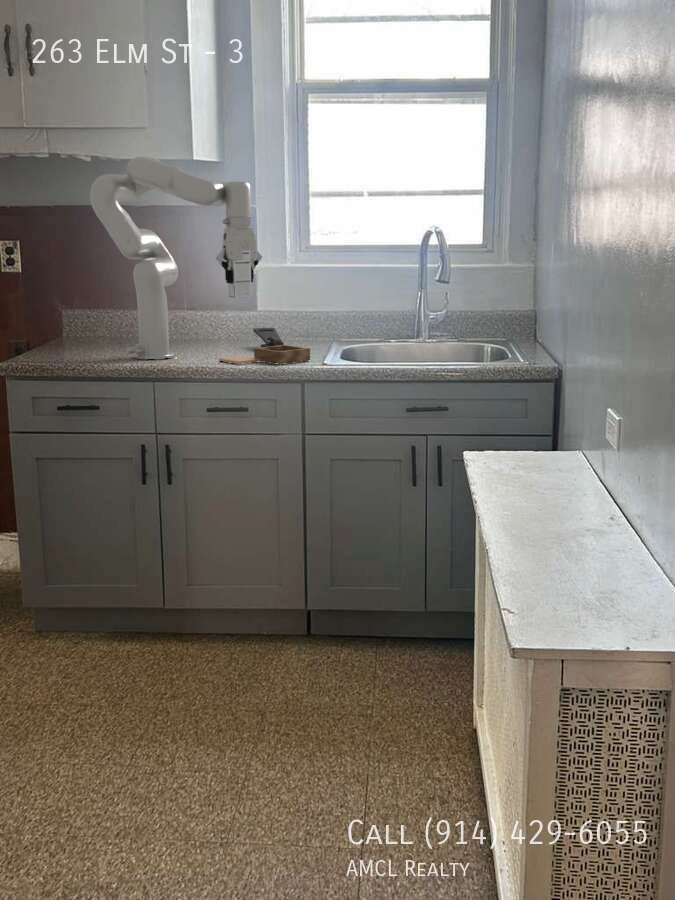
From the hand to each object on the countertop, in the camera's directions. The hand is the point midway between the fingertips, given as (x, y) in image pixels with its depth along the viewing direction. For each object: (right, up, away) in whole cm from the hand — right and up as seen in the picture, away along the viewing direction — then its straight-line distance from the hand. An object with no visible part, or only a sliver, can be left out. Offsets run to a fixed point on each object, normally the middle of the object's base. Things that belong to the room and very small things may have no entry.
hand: (239, 282), depth 324 cm
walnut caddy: (+13, -24, +7) cm, 28 cm away
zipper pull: (+8, -19, +31) cm, 37 cm away
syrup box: (0, -5, +1) cm, 5 cm away
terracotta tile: (0, -24, +6) cm, 25 cm away
